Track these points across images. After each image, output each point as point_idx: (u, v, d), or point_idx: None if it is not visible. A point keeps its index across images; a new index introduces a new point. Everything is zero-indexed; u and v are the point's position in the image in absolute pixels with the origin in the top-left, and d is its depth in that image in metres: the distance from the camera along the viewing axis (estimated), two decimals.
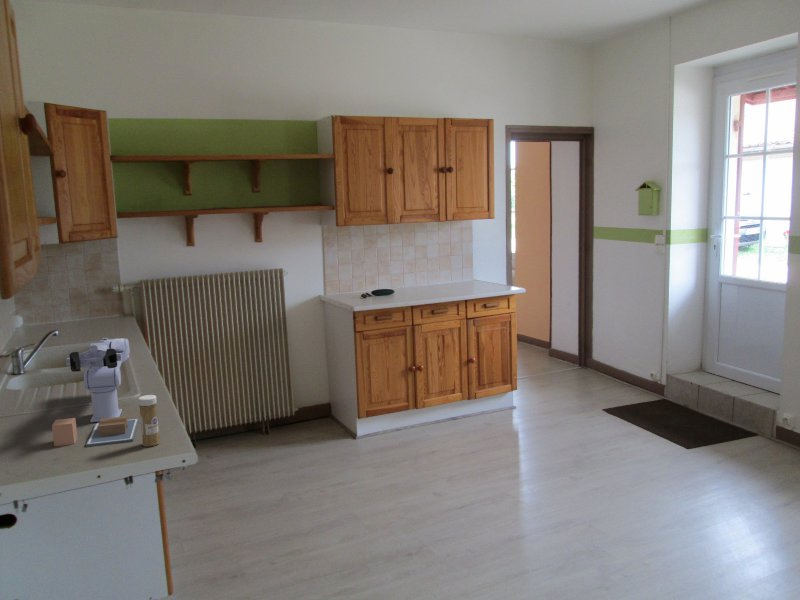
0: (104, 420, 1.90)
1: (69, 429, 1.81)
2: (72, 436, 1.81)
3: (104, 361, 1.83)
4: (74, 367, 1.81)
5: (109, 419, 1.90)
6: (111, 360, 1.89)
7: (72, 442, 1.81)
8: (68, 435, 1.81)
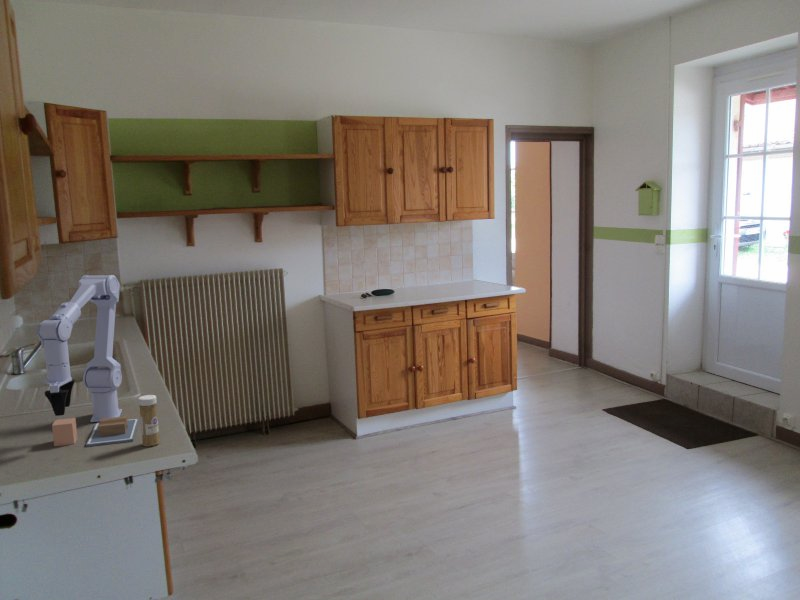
0: (104, 420, 1.90)
1: (69, 429, 1.81)
2: (72, 436, 1.81)
3: None
4: None
5: (109, 419, 1.90)
6: None
7: (72, 442, 1.81)
8: (68, 435, 1.81)
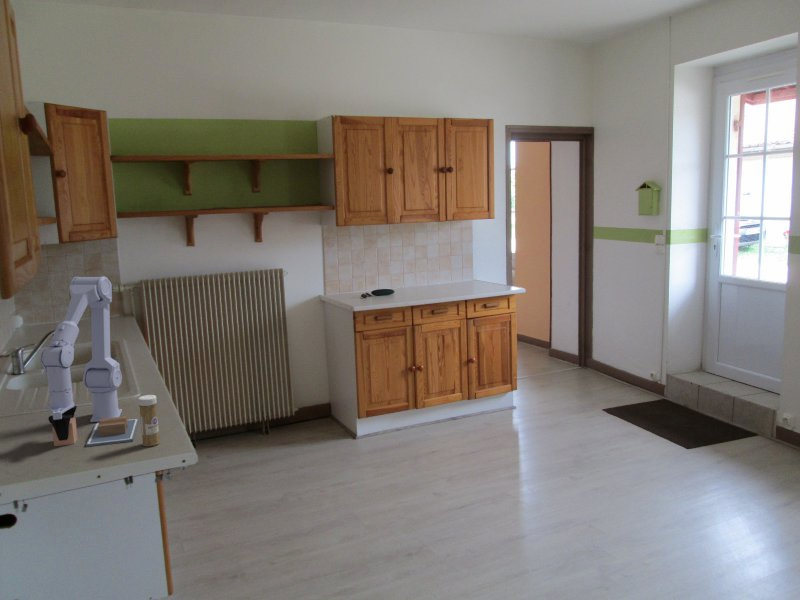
0: (104, 420, 1.90)
1: (69, 429, 1.81)
2: (72, 436, 1.81)
3: None
4: None
5: (109, 419, 1.90)
6: None
7: (72, 441, 1.81)
8: (68, 435, 1.81)
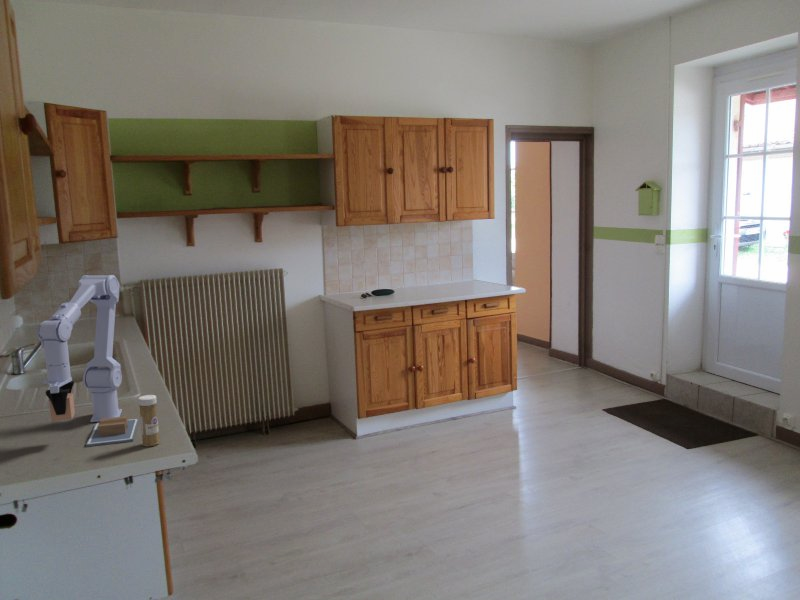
0: (104, 420, 1.90)
1: (67, 404, 1.79)
2: (69, 411, 1.80)
3: None
4: None
5: (109, 419, 1.90)
6: None
7: (69, 416, 1.80)
8: None
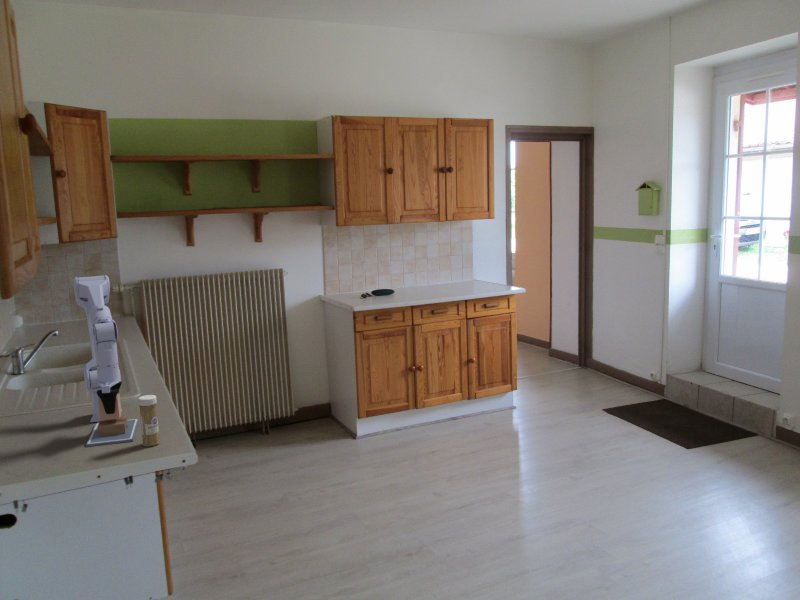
0: (104, 420, 1.90)
1: None
2: (117, 410, 1.86)
3: None
4: None
5: None
6: None
7: (117, 416, 1.87)
8: None
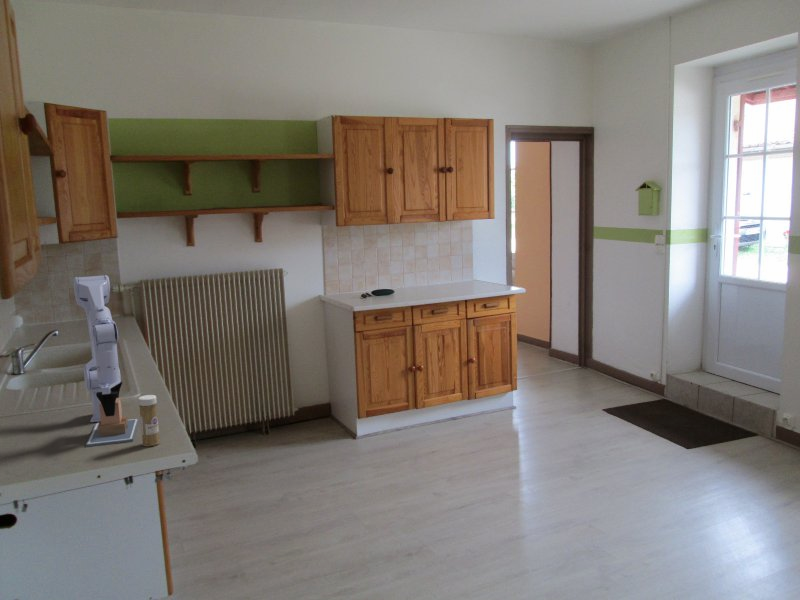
0: None
1: (116, 408, 1.86)
2: (118, 415, 1.87)
3: None
4: None
5: None
6: None
7: (118, 420, 1.87)
8: (114, 414, 1.86)
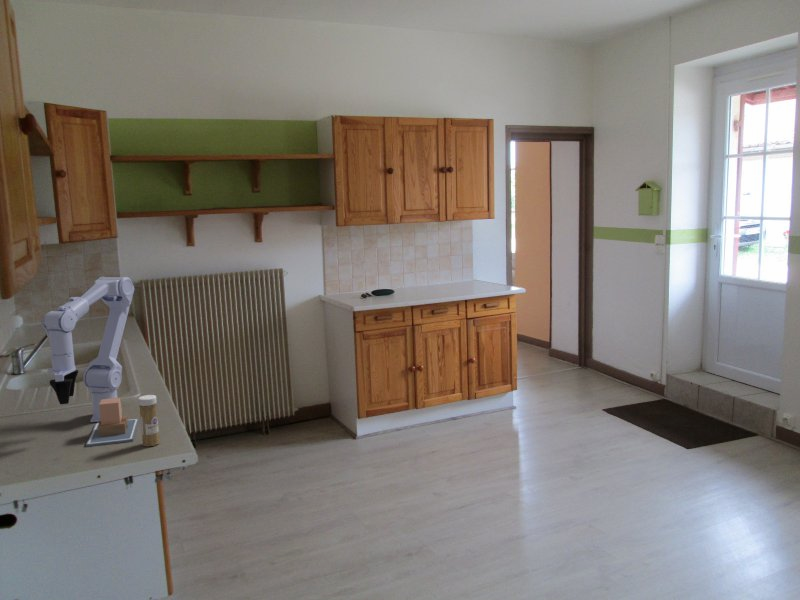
0: None
1: (116, 408, 1.86)
2: (118, 415, 1.87)
3: None
4: None
5: None
6: None
7: (118, 420, 1.87)
8: (114, 414, 1.86)
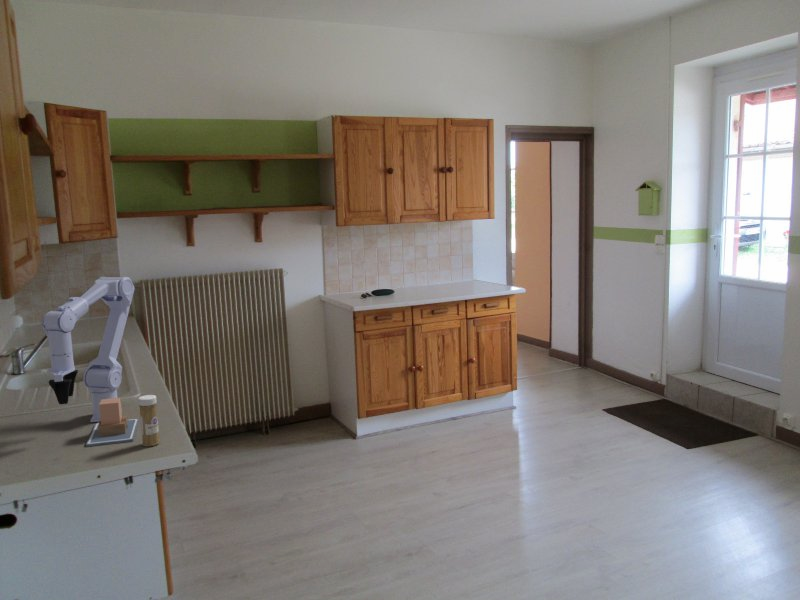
0: None
1: (116, 408, 1.86)
2: (118, 415, 1.87)
3: None
4: None
5: None
6: None
7: (118, 420, 1.87)
8: (114, 414, 1.86)
